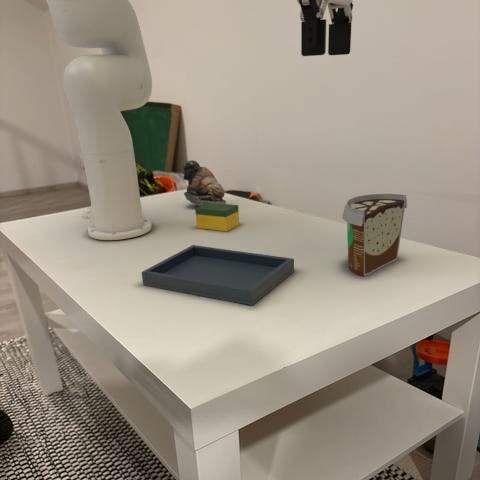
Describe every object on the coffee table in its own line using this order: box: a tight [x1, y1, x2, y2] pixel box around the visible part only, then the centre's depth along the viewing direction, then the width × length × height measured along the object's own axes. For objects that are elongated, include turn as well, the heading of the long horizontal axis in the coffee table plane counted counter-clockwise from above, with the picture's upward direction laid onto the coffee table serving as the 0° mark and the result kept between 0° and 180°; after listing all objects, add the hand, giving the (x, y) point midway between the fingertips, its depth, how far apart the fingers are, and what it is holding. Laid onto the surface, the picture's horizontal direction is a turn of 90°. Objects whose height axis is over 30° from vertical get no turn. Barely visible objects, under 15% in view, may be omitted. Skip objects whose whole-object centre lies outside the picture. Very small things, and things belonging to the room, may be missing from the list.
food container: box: [342, 193, 408, 278], centre depth 78 cm, size 12×6×10 cm, turn 134°
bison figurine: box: [182, 160, 227, 207], centre depth 115 cm, size 12×7×10 cm, turn 39°
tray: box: [141, 244, 295, 306], centre depth 77 cm, size 19×14×2 cm
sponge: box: [194, 203, 240, 232], centre depth 102 cm, size 7×5×4 cm
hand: (326, 55), depth 71 cm, fingers open, 9 cm apart
